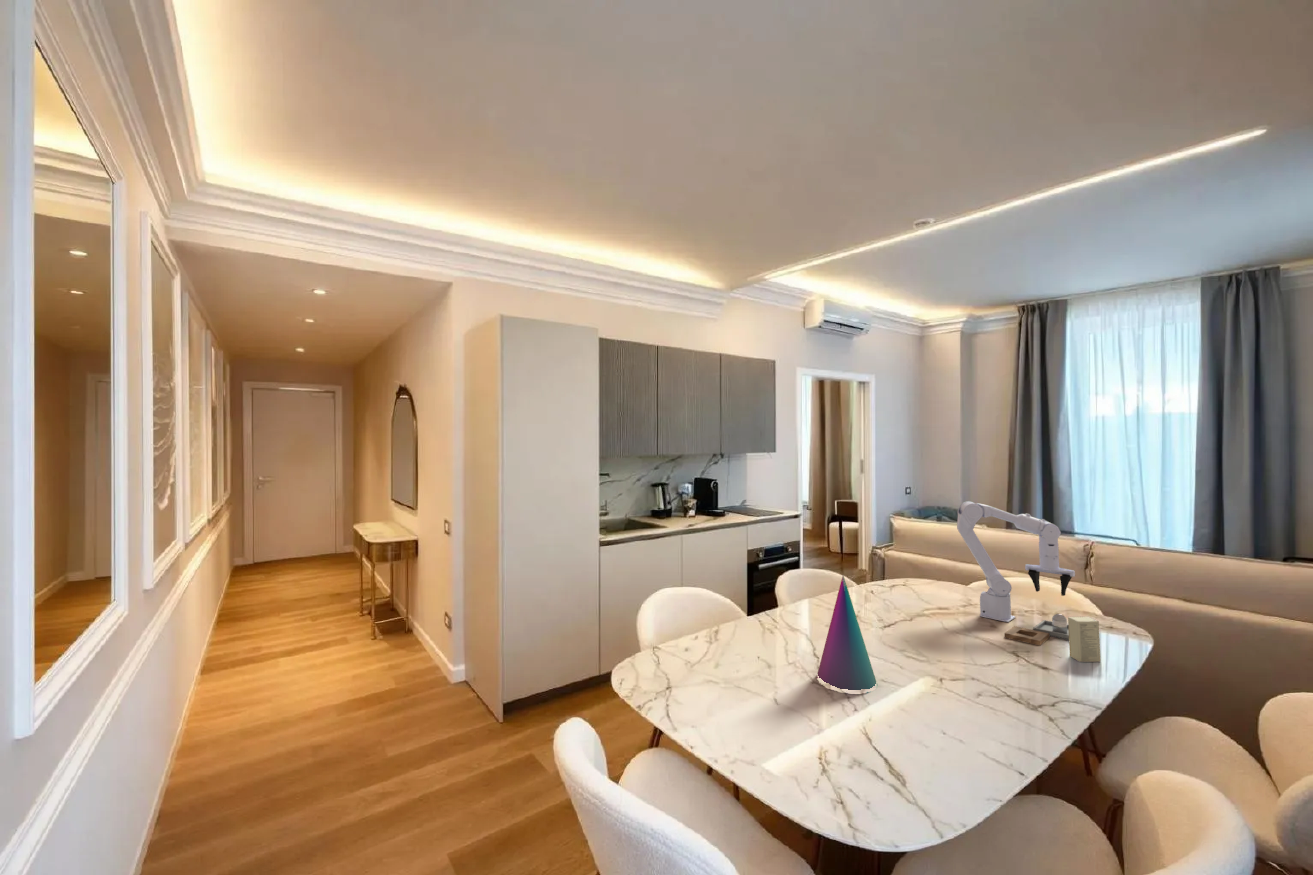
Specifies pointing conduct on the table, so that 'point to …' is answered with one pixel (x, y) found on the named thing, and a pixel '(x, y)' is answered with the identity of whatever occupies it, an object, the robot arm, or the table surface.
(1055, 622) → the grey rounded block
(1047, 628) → the tray
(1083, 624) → the skincare box
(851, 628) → the decorative cone
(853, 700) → the table surface
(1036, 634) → the socket block
